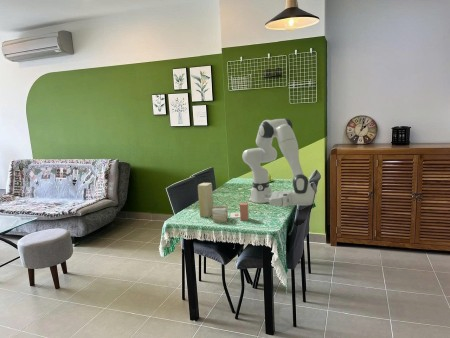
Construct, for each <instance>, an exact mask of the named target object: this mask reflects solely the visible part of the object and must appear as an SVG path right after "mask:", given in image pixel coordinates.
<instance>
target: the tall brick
mask: <svg viewBox="0 0 450 338" xmlns="http://www.w3.org/2000/svg"><path fill="white" fill-rule="evenodd" d="M239 212H240V221H244V222H246V221H249V203H248V202H240V204H239Z"/></svg>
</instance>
